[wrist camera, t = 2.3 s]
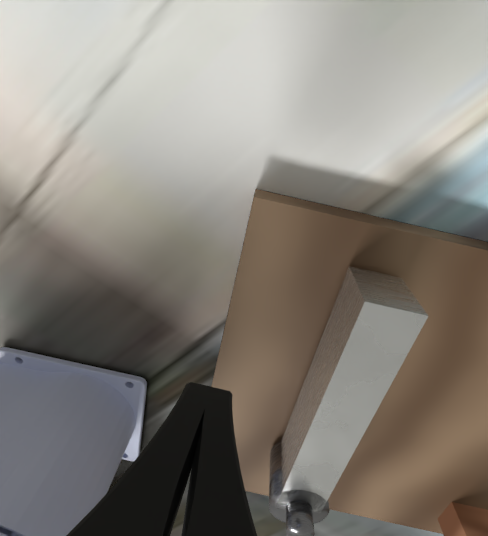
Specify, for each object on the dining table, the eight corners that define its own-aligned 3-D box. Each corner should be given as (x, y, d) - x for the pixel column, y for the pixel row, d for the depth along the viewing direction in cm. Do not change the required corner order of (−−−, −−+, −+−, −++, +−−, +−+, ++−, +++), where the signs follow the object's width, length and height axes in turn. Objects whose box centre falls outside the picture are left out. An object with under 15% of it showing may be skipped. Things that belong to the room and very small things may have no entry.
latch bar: (313, 477, 22) (321, 556, 18) (264, 466, 22) (261, 543, 18) (410, 280, 15) (454, 338, 11) (340, 264, 15) (361, 317, 11)
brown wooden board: (195, 458, 25) (179, 527, 21) (255, 188, 16) (248, 218, 12) (475, 519, 25) (513, 600, 21) (690, 288, 16) (829, 351, 12)
